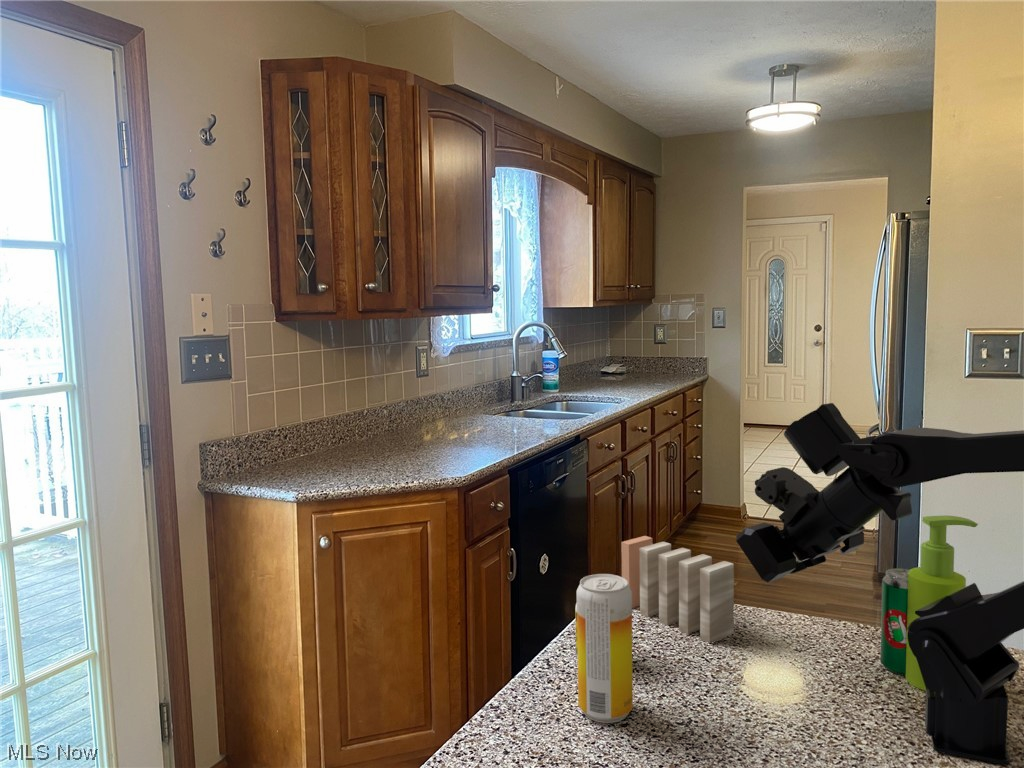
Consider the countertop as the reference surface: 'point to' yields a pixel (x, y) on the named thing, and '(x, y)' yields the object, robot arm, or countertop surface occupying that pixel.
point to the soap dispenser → (932, 580)
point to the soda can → (894, 620)
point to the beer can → (604, 647)
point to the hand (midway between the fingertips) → (760, 573)
